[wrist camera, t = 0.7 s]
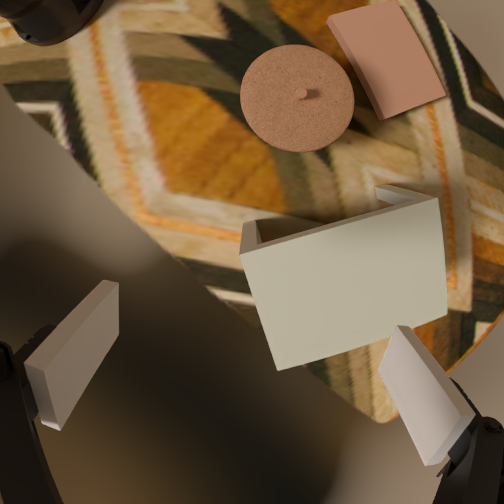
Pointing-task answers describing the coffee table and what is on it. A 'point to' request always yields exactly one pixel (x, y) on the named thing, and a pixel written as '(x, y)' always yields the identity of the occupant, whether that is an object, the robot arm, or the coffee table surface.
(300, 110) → the lidded jar
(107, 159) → the coffee table surface
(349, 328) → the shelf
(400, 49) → the book
